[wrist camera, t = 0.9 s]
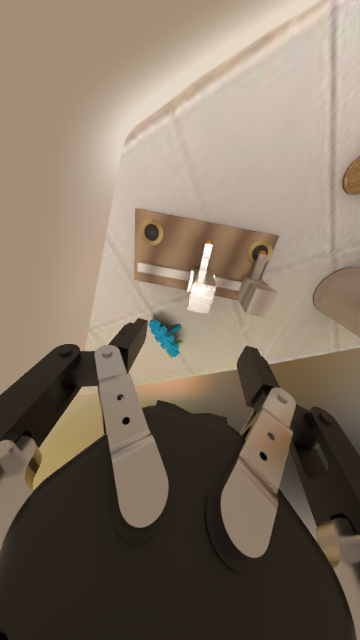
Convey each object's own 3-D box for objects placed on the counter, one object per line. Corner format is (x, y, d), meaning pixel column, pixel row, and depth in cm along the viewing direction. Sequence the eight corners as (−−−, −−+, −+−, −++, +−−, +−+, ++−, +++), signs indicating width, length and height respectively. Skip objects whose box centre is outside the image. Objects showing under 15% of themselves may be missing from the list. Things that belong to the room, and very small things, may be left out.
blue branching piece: (141, 316, 36) (166, 333, 29) (161, 303, 38) (189, 316, 31) (157, 349, 42) (180, 369, 35) (173, 336, 45) (198, 352, 38)
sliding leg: (221, 242, 26) (232, 248, 17) (208, 290, 31) (211, 314, 22) (197, 238, 26) (196, 241, 17) (188, 286, 31) (183, 309, 22)
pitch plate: (275, 235, 27) (309, 237, 18) (248, 299, 33) (265, 323, 24) (138, 209, 27) (111, 200, 19) (136, 277, 33) (115, 293, 25)
